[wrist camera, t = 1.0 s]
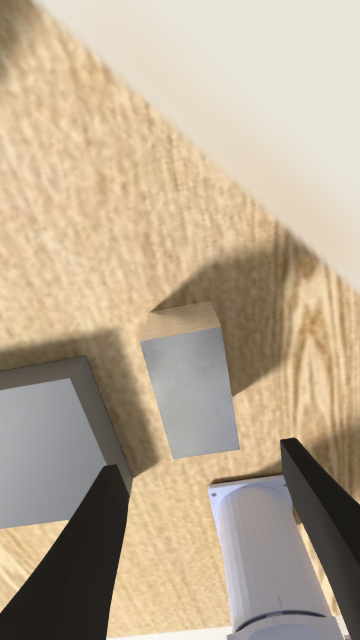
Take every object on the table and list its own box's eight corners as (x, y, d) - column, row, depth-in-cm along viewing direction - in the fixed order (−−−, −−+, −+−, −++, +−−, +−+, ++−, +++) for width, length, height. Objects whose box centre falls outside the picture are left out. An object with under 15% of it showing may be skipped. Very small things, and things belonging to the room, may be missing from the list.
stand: (133, 478, 24) (127, 511, 21) (18, 495, 25) (-2, 529, 22) (85, 355, 19) (69, 378, 16) (-56, 381, 20) (-93, 406, 17)
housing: (226, 399, 21) (239, 449, 16) (174, 407, 21) (173, 459, 17) (210, 299, 18) (221, 326, 13) (150, 311, 18) (139, 341, 14)
